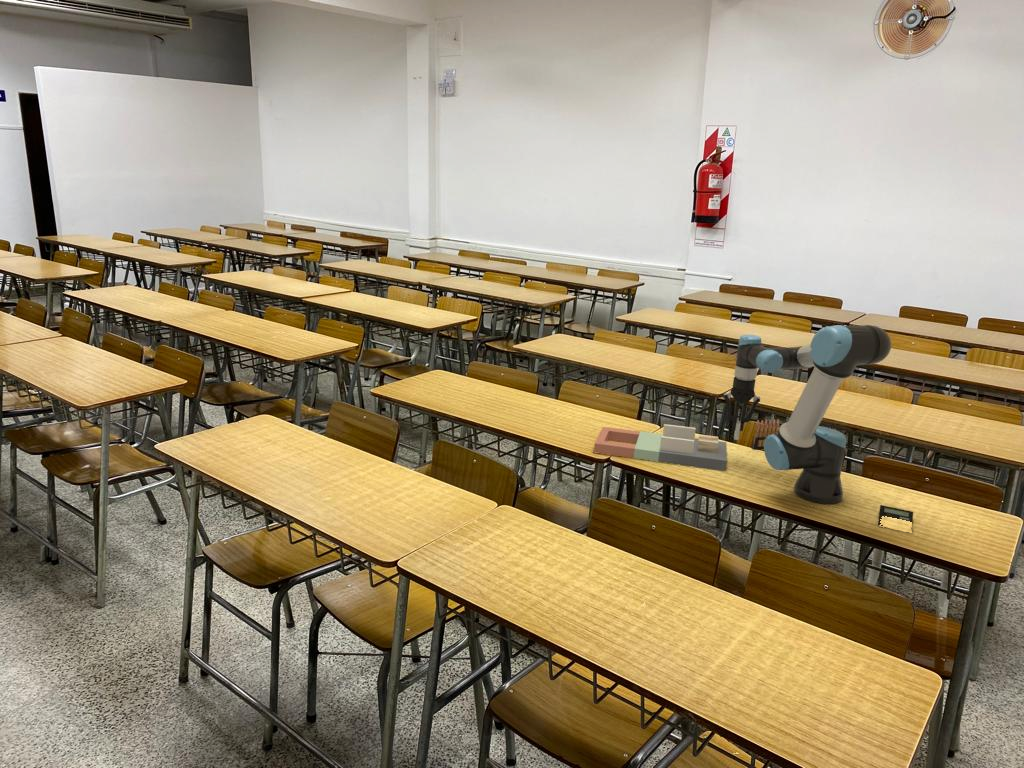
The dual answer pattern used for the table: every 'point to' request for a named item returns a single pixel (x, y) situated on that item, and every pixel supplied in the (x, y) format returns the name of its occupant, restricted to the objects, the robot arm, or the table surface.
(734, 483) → the table surface
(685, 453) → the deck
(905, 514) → the calculator
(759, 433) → the ammunition clip
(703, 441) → the block
